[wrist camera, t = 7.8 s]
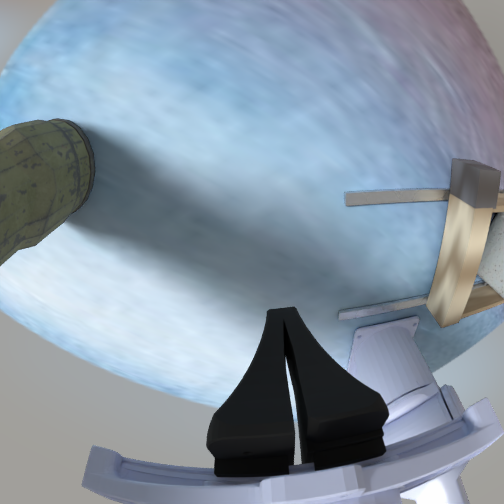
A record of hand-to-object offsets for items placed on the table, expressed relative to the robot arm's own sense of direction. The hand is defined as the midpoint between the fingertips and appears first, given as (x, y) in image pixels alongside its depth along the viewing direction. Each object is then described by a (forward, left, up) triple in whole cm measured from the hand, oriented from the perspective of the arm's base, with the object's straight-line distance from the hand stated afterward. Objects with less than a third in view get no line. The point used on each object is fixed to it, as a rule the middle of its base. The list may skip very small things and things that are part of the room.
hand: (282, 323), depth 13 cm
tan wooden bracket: (-1, -22, -9) cm, 24 cm away
